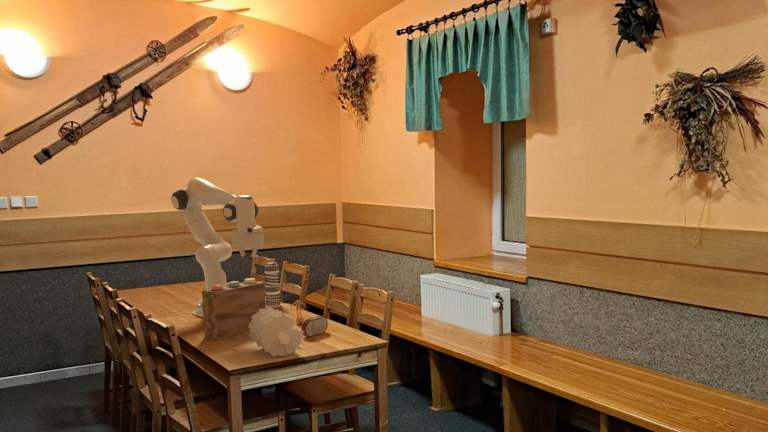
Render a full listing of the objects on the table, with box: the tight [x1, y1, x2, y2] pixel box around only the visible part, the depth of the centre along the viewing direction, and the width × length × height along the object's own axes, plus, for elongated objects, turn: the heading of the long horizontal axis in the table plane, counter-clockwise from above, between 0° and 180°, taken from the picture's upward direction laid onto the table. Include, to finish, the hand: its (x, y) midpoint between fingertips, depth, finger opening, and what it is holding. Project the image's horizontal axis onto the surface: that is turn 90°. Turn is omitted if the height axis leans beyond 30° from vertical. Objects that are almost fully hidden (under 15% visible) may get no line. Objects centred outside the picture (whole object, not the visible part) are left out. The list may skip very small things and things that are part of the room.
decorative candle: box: [263, 261, 282, 309], centre depth 388 cm, size 9×9×25 cm
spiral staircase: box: [248, 307, 304, 358], centre depth 292 cm, size 18×18×25 cm
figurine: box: [290, 299, 308, 325], centre depth 343 cm, size 8×6×12 cm
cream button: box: [244, 277, 256, 285], centre depth 338 cm, size 5×5×2 cm
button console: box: [201, 280, 267, 340], centre depth 331 cm, size 10×30×22 cm, turn 143°
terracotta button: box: [212, 285, 223, 291], centre depth 322 cm, size 5×5×2 cm
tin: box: [301, 315, 328, 338], centre depth 319 cm, size 15×3×8 cm, turn 141°
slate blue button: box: [228, 280, 240, 288], centre depth 330 cm, size 5×5×2 cm
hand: (248, 256), depth 337 cm, fingers open, 6 cm apart
